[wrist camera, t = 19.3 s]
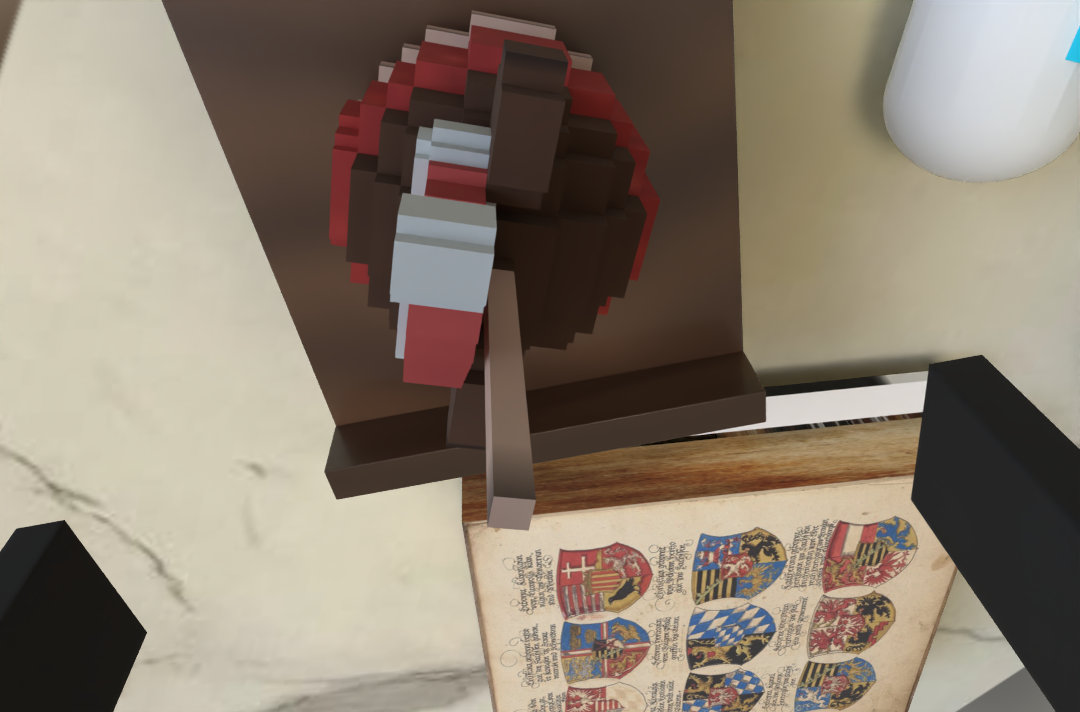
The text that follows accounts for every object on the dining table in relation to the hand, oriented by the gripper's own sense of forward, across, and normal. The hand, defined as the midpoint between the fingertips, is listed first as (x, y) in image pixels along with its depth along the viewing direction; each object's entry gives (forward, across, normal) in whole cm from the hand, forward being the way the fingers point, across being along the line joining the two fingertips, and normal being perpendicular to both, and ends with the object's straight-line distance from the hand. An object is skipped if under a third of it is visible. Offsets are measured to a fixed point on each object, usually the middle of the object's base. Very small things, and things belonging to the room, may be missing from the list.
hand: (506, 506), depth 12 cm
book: (+24, +8, -28) cm, 38 cm away
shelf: (+24, 0, -2) cm, 24 cm away
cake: (+18, 0, 0) cm, 18 cm away
